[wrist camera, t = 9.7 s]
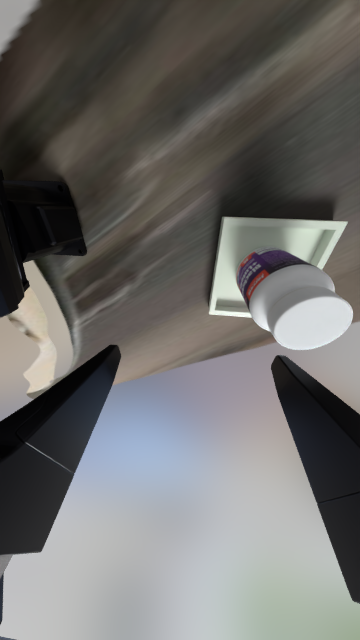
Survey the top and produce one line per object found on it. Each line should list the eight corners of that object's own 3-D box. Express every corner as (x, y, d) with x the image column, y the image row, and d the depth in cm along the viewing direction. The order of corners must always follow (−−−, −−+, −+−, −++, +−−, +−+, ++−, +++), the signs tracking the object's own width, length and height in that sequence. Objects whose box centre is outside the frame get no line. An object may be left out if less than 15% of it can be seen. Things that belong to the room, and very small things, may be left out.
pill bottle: (236, 248, 16) (272, 286, 8) (295, 242, 15) (397, 278, 7) (232, 296, 19) (255, 358, 11) (281, 293, 18) (343, 358, 10)
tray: (208, 306, 21) (209, 314, 20) (222, 216, 15) (224, 217, 14) (287, 312, 20) (294, 320, 19) (333, 220, 14) (347, 221, 13)
